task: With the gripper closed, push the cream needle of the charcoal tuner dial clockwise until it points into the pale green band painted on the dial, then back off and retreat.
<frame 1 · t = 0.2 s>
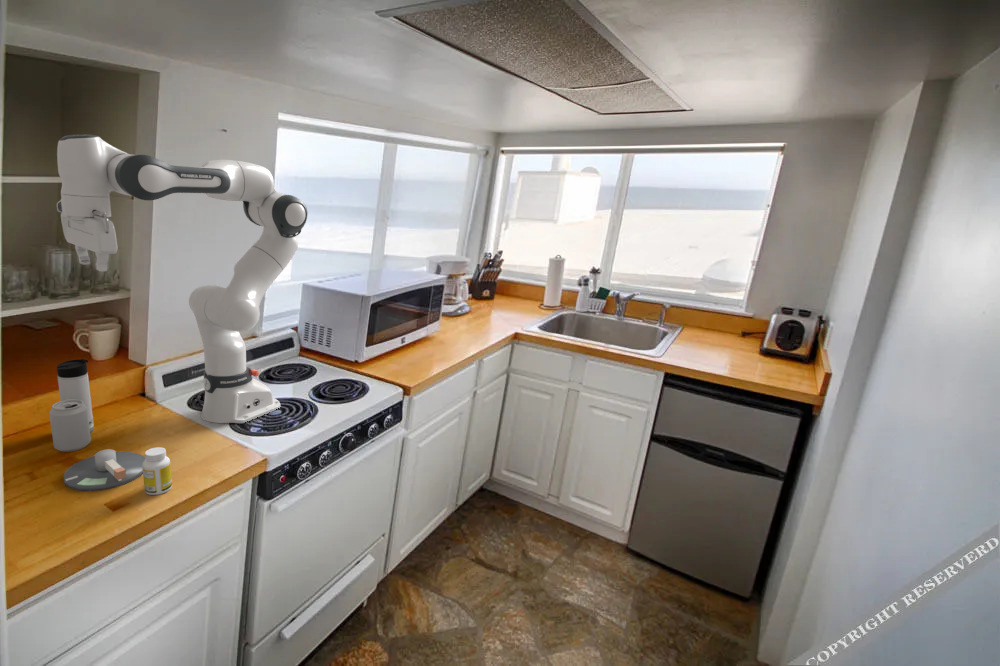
hand: (93, 267, 125), 47 cm above the table, fingers open, 8 cm apart
travel mug: (80, 431, 143), on the table
supplement bottle: (158, 489, 122), on the table
dial plate: (107, 472, 126), on the table
needle: (111, 465, 123), point 3 cm above the table, hinge at 0.0°
can: (73, 446, 136), on the table
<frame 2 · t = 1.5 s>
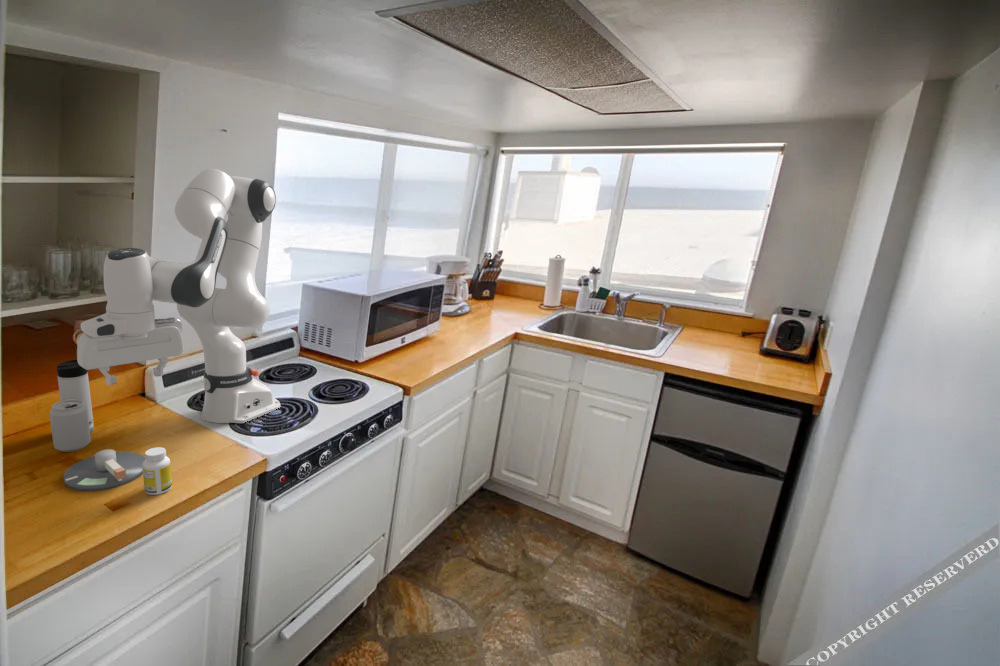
hand: (135, 379, 121), 24 cm above the table, fingers open, 8 cm apart
nothing on the table moved.
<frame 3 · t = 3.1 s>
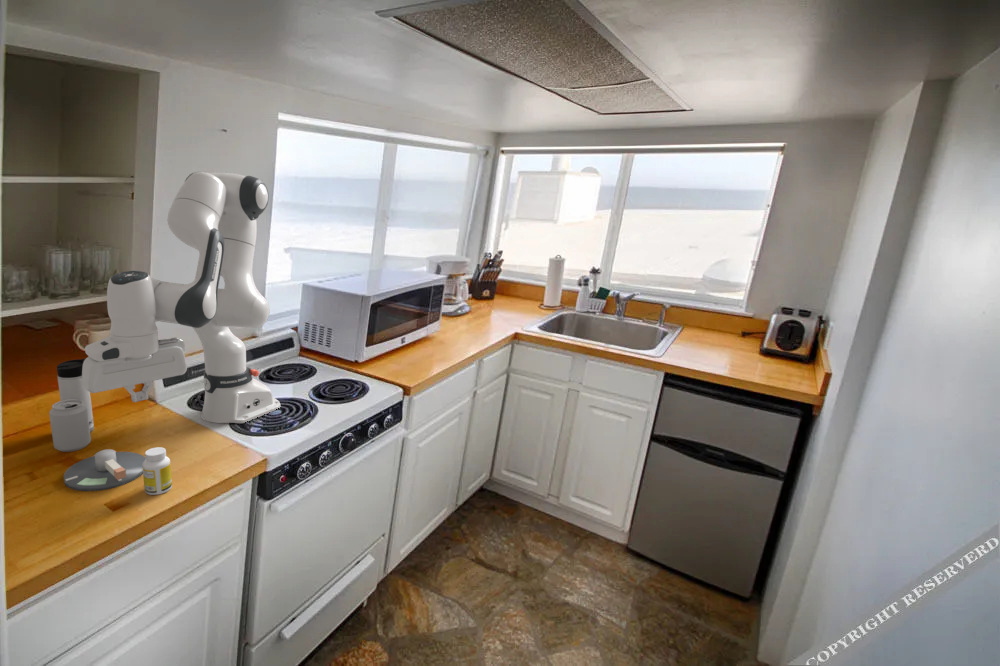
hand: (140, 400, 123), 19 cm above the table, fingers closed
nothing on the table moved.
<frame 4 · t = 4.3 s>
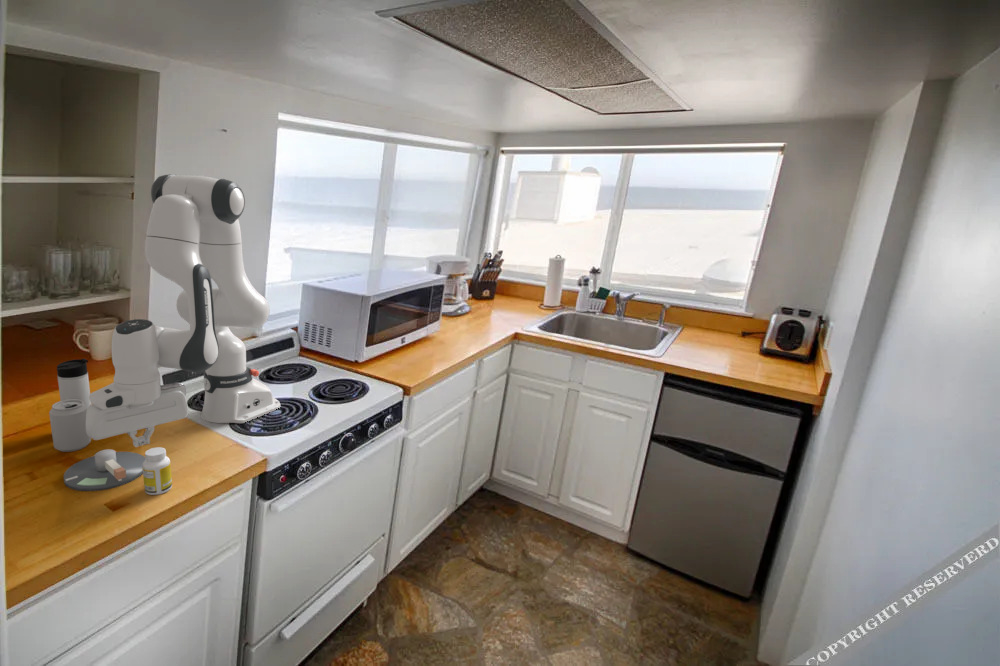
hand: (141, 444, 125), 8 cm above the table, fingers closed
nothing on the table moved.
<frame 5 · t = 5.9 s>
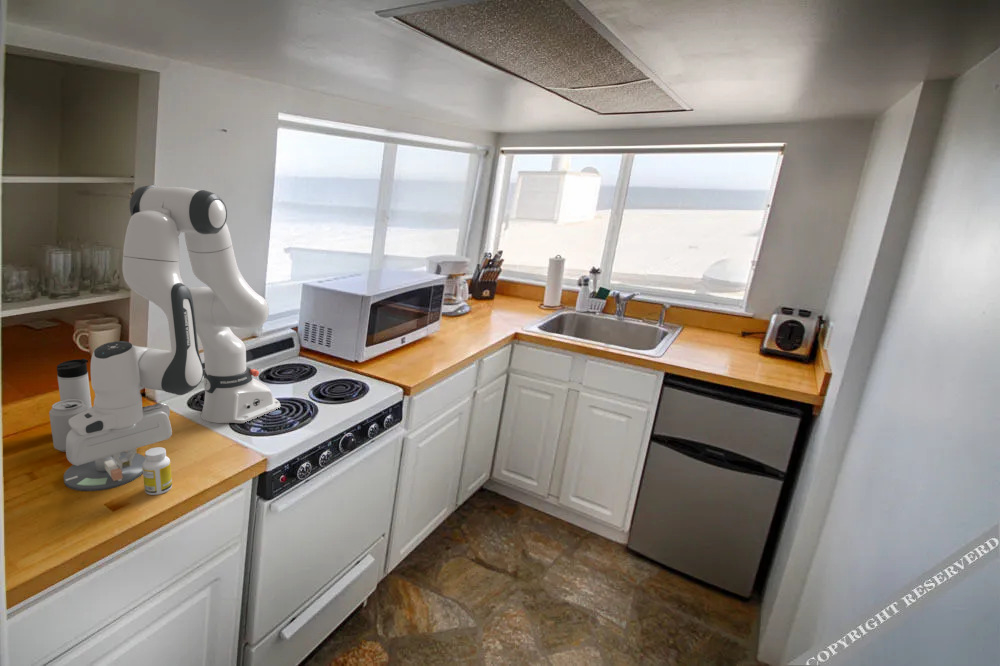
hand: (124, 467, 123), 3 cm above the table, fingers closed
needle: (110, 466, 123), point 3 cm above the table, hinge at -4.7°, touching gripper
everything else where it was.
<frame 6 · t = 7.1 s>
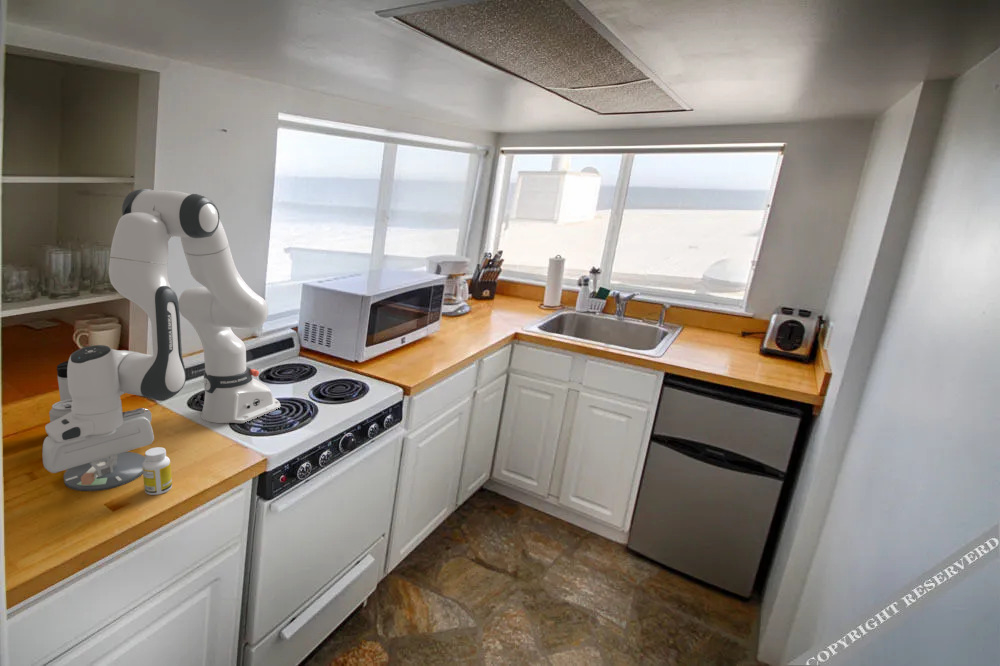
hand: (104, 473, 120), 3 cm above the table, fingers closed
needle: (98, 467, 122), point 3 cm above the table, hinge at -43.0°, touching gripper
everything else where it was.
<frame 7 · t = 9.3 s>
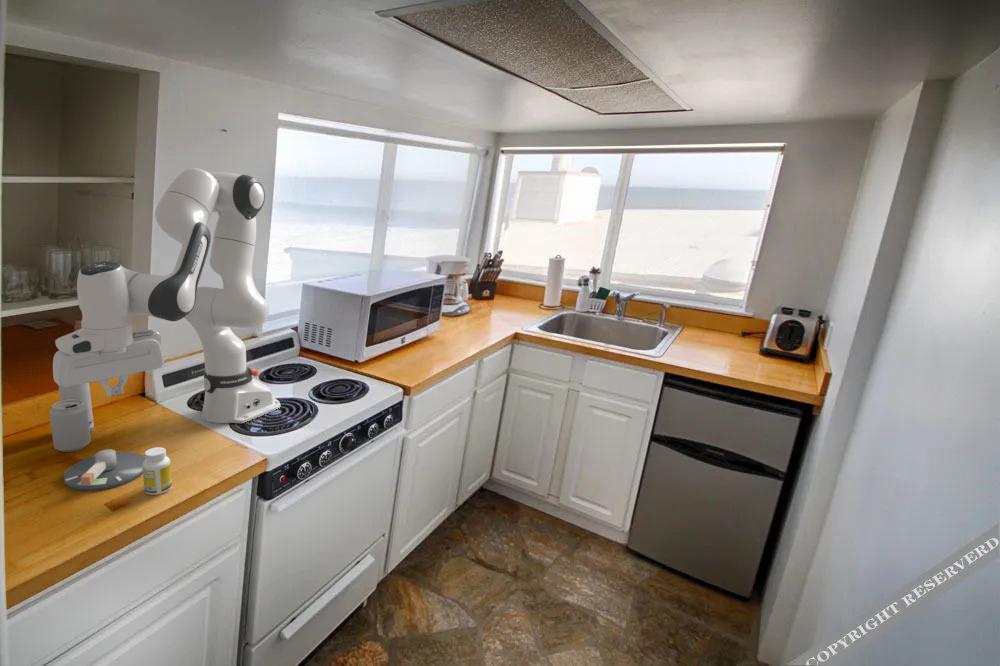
hand: (115, 394, 119), 21 cm above the table, fingers closed
needle: (98, 467, 122), point 3 cm above the table, hinge at -43.1°
everything else where it was.
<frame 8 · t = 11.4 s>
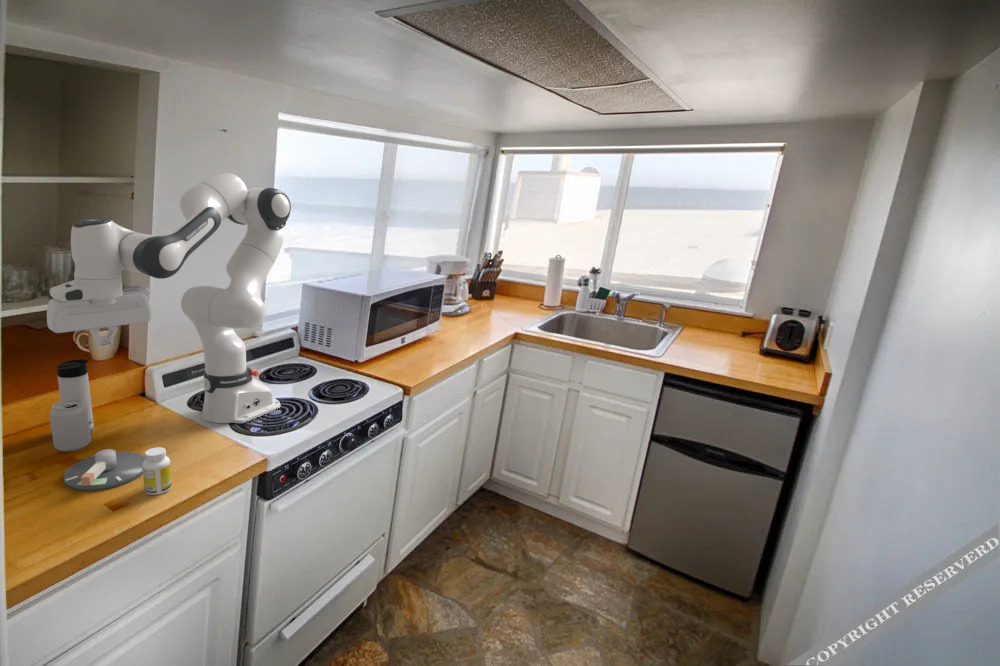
hand: (105, 344, 127), 29 cm above the table, fingers closed
nothing on the table moved.
at the end: needle at -43° (first picture: +0°) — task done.
